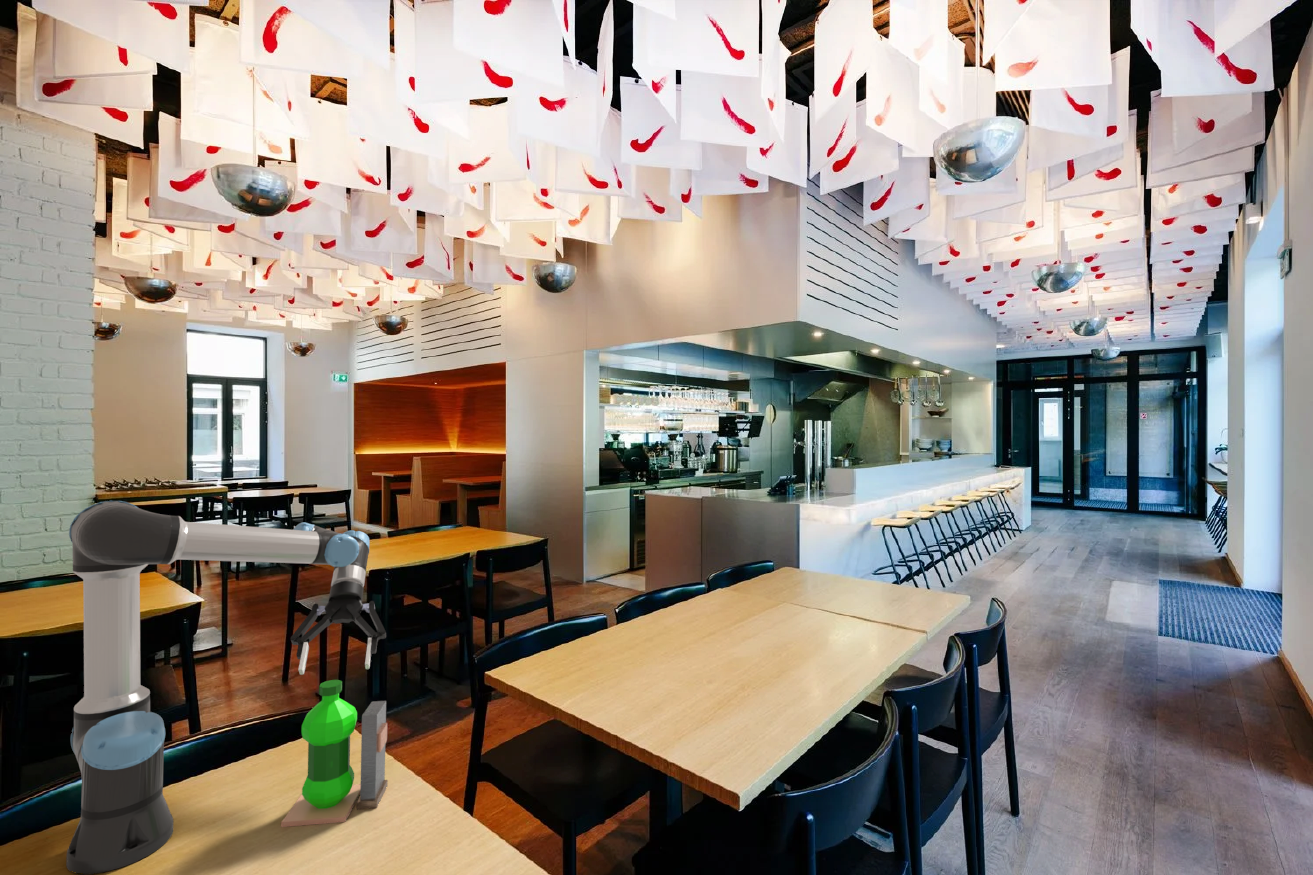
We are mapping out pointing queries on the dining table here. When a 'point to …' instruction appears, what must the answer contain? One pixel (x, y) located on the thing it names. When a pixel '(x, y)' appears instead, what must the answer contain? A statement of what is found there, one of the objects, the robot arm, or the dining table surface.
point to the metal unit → (373, 755)
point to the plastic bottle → (329, 747)
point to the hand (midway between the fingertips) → (334, 669)
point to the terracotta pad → (321, 811)
